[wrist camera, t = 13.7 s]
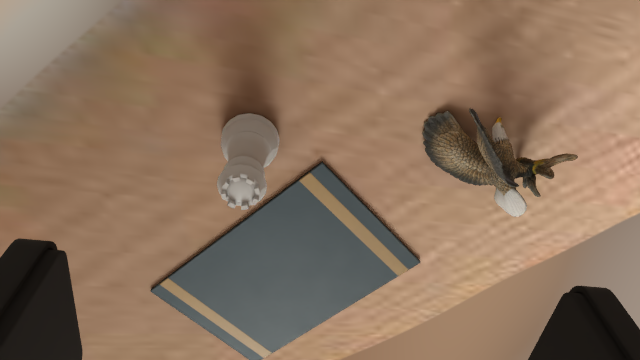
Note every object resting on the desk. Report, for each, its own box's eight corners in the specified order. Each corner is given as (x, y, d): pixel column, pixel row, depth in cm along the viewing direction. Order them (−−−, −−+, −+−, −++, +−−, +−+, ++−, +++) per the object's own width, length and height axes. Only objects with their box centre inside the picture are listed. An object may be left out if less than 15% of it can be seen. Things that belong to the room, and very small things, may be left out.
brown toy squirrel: (569, 107, 37) (472, 76, 34) (587, 197, 34) (483, 172, 31) (496, 149, 44) (409, 126, 40) (506, 227, 41) (413, 209, 38)
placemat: (322, 161, 40) (322, 163, 40) (419, 260, 46) (420, 262, 46) (151, 289, 47) (150, 291, 47) (255, 361, 53) (255, 363, 53)
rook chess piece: (279, 111, 38) (274, 164, 31) (280, 162, 40) (275, 222, 34) (219, 109, 38) (202, 163, 31) (224, 161, 40) (208, 221, 33)
